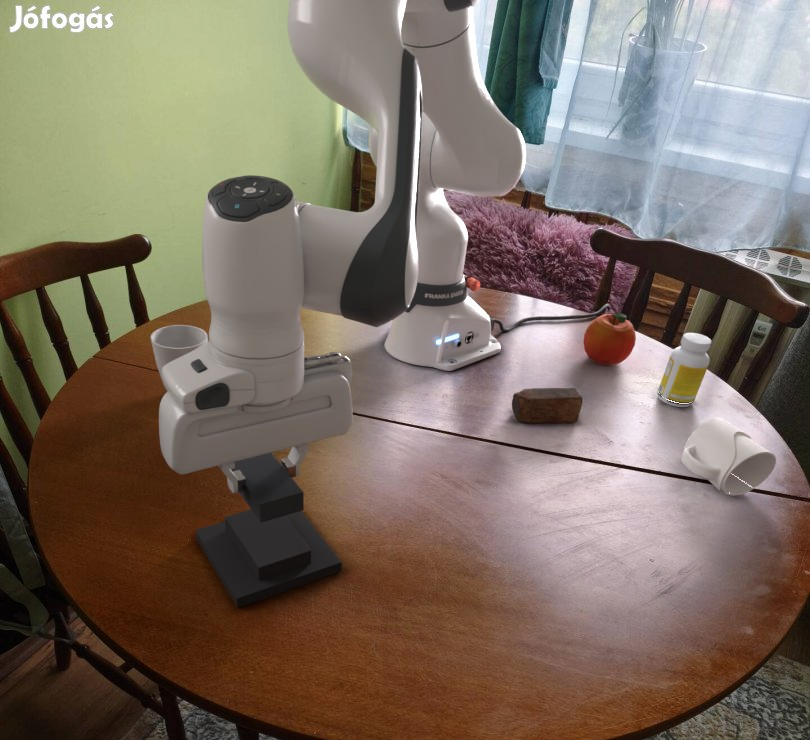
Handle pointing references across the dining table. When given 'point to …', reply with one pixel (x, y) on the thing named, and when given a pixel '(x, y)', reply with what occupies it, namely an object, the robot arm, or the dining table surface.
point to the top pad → (269, 488)
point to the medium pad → (267, 543)
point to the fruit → (609, 339)
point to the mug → (727, 457)
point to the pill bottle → (685, 370)
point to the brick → (547, 405)
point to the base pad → (242, 577)
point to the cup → (175, 343)
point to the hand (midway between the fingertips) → (264, 481)
